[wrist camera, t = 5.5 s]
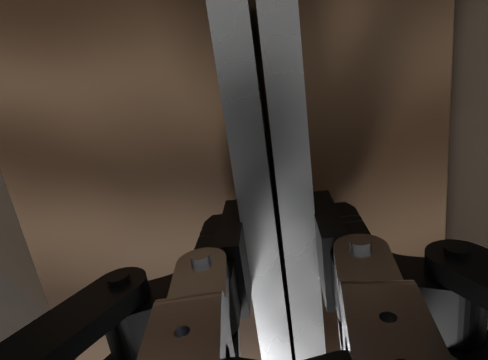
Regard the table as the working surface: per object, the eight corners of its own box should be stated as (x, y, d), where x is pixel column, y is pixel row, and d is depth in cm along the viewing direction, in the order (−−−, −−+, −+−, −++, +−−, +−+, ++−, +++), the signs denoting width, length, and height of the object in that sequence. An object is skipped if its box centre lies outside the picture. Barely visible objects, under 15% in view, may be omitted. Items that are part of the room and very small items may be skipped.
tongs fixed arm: (190, -115, 11) (162, -179, 8) (307, -137, 10) (322, -211, 7) (286, 530, 19) (290, 611, 16) (350, 529, 19) (365, 612, 16)
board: (-73, -141, 12) (-119, -168, 11) (439, -248, 10) (466, -297, 9) (148, 534, 22) (140, 566, 21) (420, 530, 21) (431, 564, 19)
